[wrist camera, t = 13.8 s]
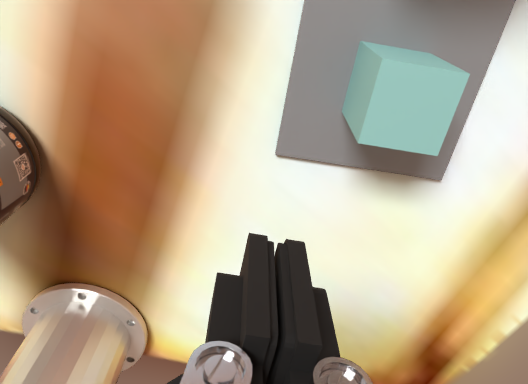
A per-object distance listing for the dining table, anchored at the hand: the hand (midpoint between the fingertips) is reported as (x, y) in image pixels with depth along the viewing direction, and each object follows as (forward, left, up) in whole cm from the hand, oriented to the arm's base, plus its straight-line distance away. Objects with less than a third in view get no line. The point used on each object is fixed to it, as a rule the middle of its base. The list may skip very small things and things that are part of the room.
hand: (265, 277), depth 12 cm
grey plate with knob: (+2, -8, -22) cm, 23 cm away
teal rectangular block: (+2, -8, -21) cm, 23 cm away
